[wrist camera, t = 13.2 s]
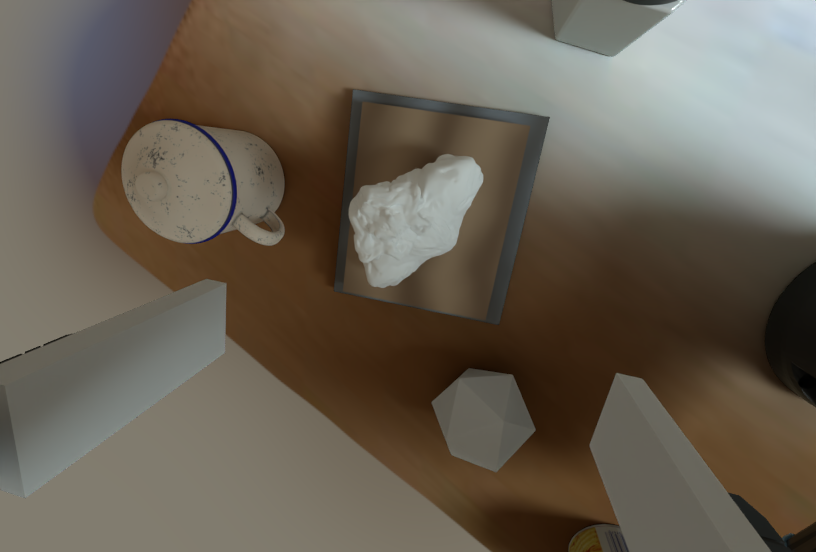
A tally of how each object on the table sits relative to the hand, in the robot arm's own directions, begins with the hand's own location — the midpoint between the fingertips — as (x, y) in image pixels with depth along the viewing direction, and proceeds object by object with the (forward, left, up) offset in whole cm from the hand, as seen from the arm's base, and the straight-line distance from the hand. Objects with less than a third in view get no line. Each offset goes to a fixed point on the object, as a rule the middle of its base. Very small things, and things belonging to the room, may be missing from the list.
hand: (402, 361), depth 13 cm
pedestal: (+2, -2, -24) cm, 24 cm away
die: (-6, +15, -24) cm, 29 cm away
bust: (+3, -2, -21) cm, 21 cm away
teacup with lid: (+19, -1, -24) cm, 30 cm away
